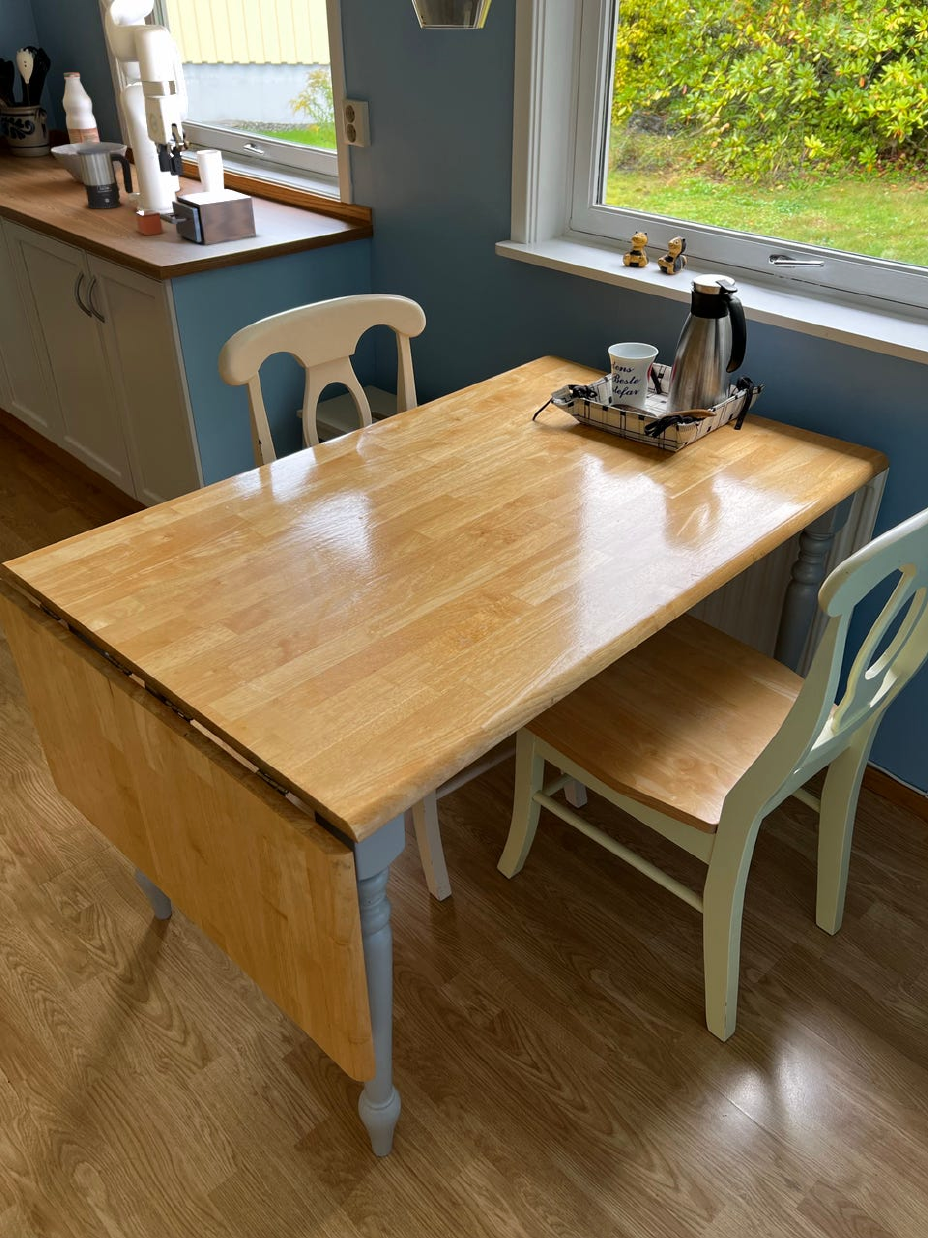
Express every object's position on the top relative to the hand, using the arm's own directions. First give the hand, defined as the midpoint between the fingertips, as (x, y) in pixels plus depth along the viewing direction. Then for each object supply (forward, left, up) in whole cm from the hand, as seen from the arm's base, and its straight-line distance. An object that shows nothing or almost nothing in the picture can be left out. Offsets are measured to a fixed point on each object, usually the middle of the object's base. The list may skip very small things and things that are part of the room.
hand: (172, 172), depth 237 cm
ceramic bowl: (-62, +66, -17) cm, 92 cm away
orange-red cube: (-13, +8, -16) cm, 22 cm away
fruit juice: (-78, +90, -17) cm, 120 cm away
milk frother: (-43, +38, -17) cm, 59 cm away
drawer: (+3, +4, -15) cm, 16 cm away
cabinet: (+6, +8, -16) cm, 19 cm away
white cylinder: (-8, +38, -17) cm, 42 cm away
